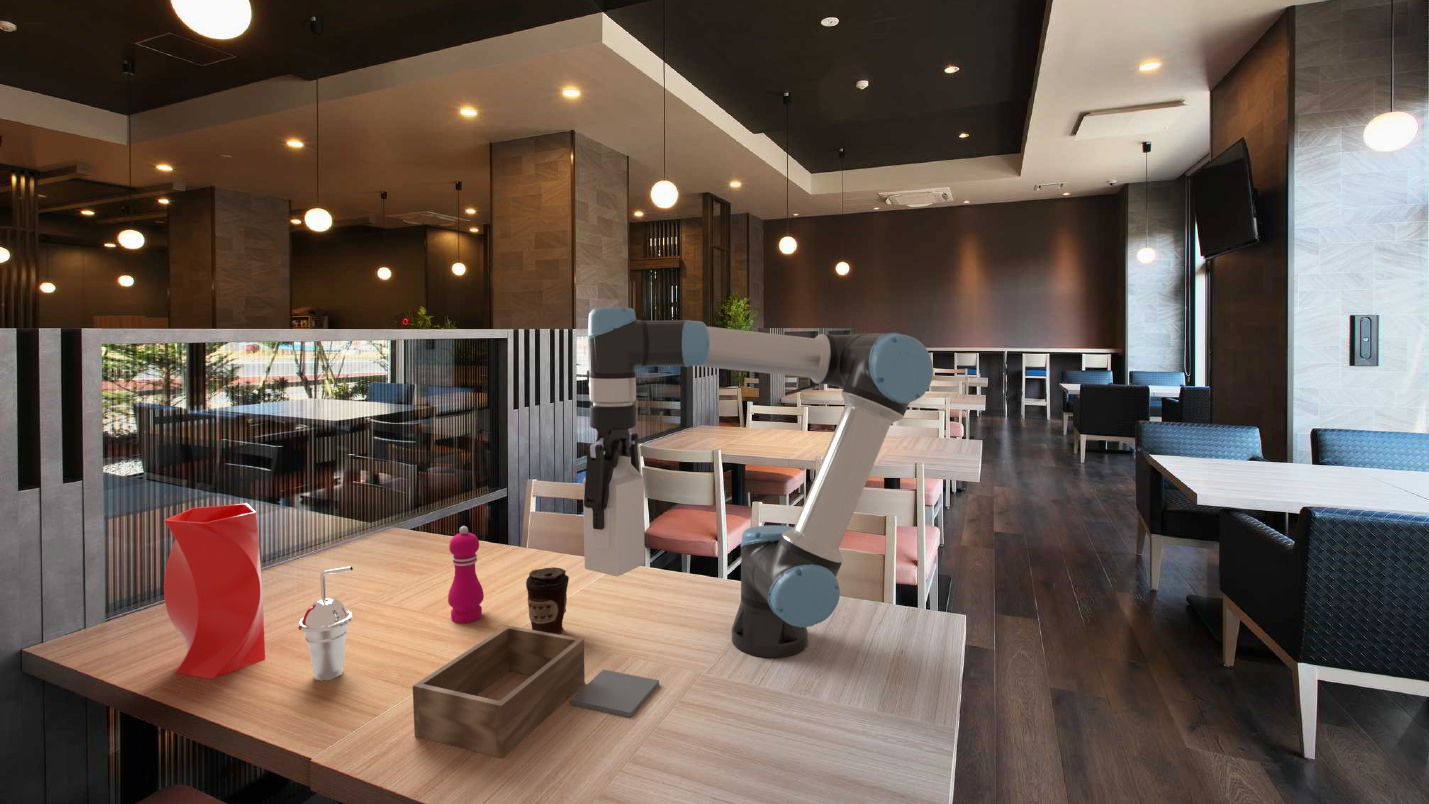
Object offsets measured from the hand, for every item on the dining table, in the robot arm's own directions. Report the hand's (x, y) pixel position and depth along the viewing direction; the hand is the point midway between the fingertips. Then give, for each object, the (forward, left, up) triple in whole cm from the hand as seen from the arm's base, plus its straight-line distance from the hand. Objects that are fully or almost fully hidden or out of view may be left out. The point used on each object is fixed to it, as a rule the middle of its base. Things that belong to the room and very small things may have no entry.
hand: (614, 539), depth 115 cm
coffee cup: (+24, -16, -27) cm, 40 cm away
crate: (+15, +10, -27) cm, 32 cm away
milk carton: (0, 0, -5) cm, 5 cm away
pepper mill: (+45, -17, -27) cm, 55 cm away
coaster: (0, 0, -27) cm, 27 cm away
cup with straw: (+51, +12, -27) cm, 59 cm away
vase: (+74, +14, -27) cm, 80 cm away
